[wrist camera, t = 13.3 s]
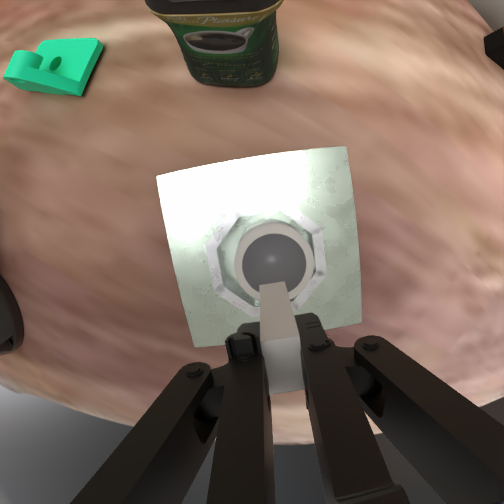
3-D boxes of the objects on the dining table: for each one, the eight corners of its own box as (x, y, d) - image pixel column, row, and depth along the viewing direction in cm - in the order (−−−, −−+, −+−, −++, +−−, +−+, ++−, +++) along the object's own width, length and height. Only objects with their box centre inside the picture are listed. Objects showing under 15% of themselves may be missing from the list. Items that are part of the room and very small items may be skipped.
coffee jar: (279, 34, 25) (298, -81, 7) (274, 92, 27) (295, -14, 9) (195, 31, 25) (149, -75, 7) (185, 88, 27) (112, -5, 9)
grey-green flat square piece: (196, 343, 34) (189, 361, 30) (159, 176, 29) (145, 175, 25) (359, 318, 33) (370, 334, 29) (343, 147, 28) (355, 141, 24)
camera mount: (109, 46, 26) (68, 12, 16) (85, 98, 27) (35, 76, 17) (50, 46, 25) (9, 23, 15) (30, 92, 27) (-17, 78, 16)
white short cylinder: (243, 289, 31) (241, 308, 26) (232, 224, 29) (227, 232, 24) (308, 279, 31) (317, 296, 26) (300, 214, 29) (309, 219, 24)
